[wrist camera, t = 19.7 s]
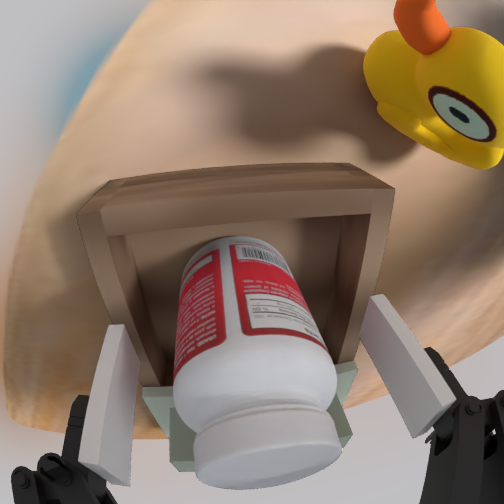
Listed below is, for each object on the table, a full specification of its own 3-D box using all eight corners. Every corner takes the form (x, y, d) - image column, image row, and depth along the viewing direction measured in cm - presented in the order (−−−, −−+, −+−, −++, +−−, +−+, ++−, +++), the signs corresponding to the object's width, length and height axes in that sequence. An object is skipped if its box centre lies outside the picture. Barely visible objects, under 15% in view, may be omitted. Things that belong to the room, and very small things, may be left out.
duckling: (295, 61, 13) (413, 26, 4) (340, 0, 11) (462, -52, 2) (422, 169, 17) (533, 234, 8) (454, 114, 15) (567, 153, 6)
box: (109, 180, 15) (75, 214, 10) (348, 162, 16) (395, 188, 12) (156, 352, 22) (152, 403, 17) (325, 332, 23) (346, 378, 19)
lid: (142, 387, 16) (137, 452, 12) (353, 360, 18) (381, 417, 14) (186, 458, 23) (189, 498, 19) (320, 440, 25) (333, 477, 21)
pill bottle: (198, 328, 18) (204, 498, 8) (167, 245, 15) (131, 451, 5) (293, 308, 18) (353, 469, 9) (282, 220, 15) (383, 404, 6)
